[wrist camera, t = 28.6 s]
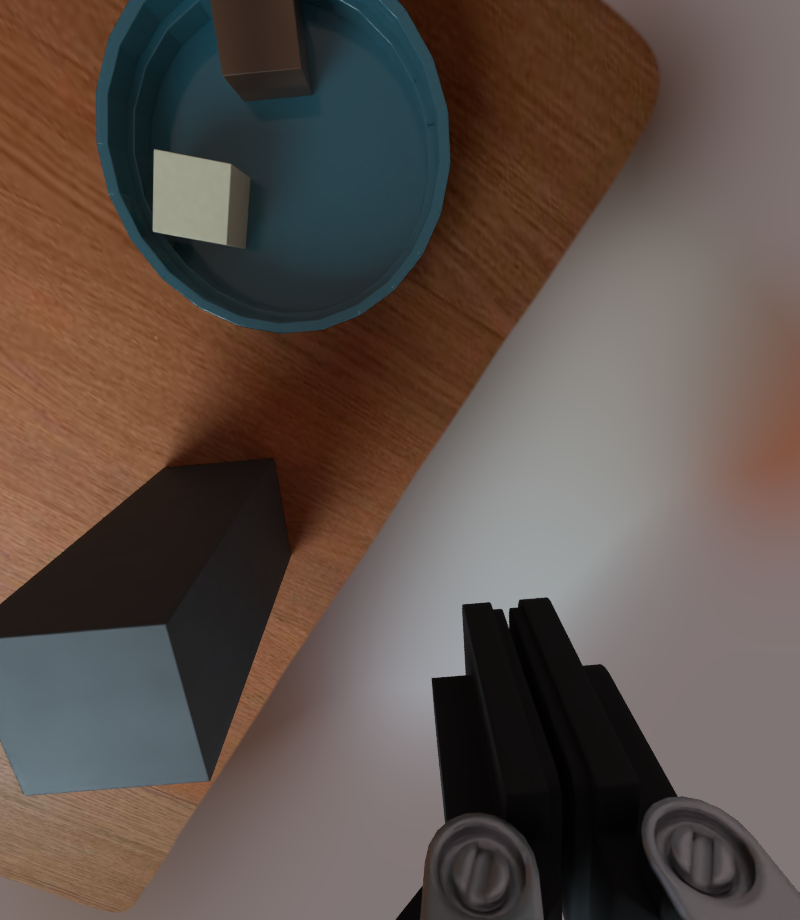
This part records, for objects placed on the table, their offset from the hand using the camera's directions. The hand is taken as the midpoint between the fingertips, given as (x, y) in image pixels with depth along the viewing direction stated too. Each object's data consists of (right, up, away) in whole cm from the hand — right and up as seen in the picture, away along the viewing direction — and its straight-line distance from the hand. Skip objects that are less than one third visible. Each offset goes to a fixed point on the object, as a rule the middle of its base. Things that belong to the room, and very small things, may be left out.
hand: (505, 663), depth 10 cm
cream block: (-13, +19, +21) cm, 32 cm away
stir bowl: (-9, +21, +21) cm, 31 cm away
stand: (-15, 0, +28) cm, 32 cm away
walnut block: (-9, +27, +19) cm, 34 cm away
